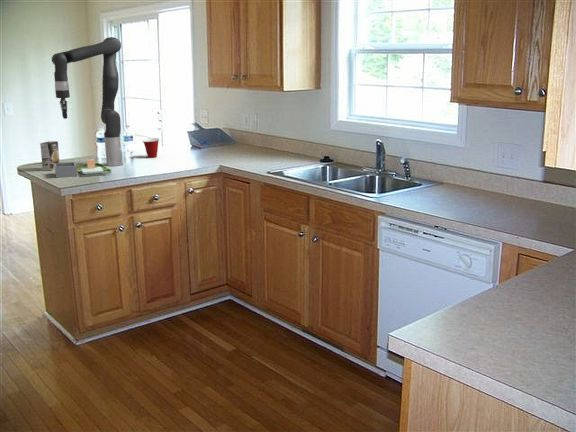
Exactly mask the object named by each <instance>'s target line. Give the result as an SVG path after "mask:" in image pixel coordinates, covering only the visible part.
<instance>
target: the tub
mask: <svg viewBox="0 0 576 432" xmlns="http://www.w3.org/2000/svg"><path fill="white" fill-rule="evenodd" d="M54 164H55V170H54V172H55V177H56V178H57V179H59V178H60V179H61V178H70V177H73V178H75V177H78V171H77V170H78V169H77V164H76V162H75V161H71V162H60V163H54Z"/></svg>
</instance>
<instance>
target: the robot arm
mask: <svg viewBox="0 0 576 432" xmlns="http://www.w3.org/2000/svg"><path fill="white" fill-rule="evenodd" d="M121 43H122V42H121V41H120V40H119V39H118V38H117V37H112V36H111V37H110V36H109V37H105V38H104V39H103V41H101V42H98V43H96V44H91V45H85V46H80V47H76V48H73V49H70V50H65V51H62V52H56V53H54V54H52V56H51V63H52V64H53V65H54V72H53V76H54V90H55V98H56V99H60V100H59V105H60V109H61V115H62V118H63V119H64V120H65V119H68V101H67V100H66V99H69V98H70V97H71V95H70V86H69V81H68V64H70V63H71V64H72V63H76V62H81V61H84V60H86V59H87V60H88V59H92V58H93V57H96V56H101V55H102V56H103V65H102V84H101V85H102V101H101V102H102V104H101V112H100V119H101V122H102V123H103V124H104V125H105V131H104V133H103V139H104V151H105V158H106V159H105V163H106V165H107V166H110V167H116V166H123V153H122V152H123V151H122V145H121V144H122V143H121V131H122V128H121V126H122V125H121V116H120V113H119V112H118V111H116V110H115V101H116V100H115V99H116V96H117V94H118V90H119V81H120V79H119V72H118V71H119V70H118V67H117V53H118V52H120V51H121V49H122V44H121Z"/></svg>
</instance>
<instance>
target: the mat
mask: <svg viewBox="0 0 576 432" xmlns="http://www.w3.org/2000/svg"><path fill="white" fill-rule="evenodd" d="M79 174H80V177H81V178H86V177H98V176H106V172H105V170H103V172H101V174H89V175H85V173H84V174H83V173H82V170H79Z"/></svg>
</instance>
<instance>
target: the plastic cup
mask: <svg viewBox="0 0 576 432" xmlns="http://www.w3.org/2000/svg"><path fill="white" fill-rule="evenodd" d="M159 140H160V138H158V137H157V138H156V137H155V138H154V137H153V138H146V139H143V140H142V143H143V144H144V148H145V152H146V155H147V158H148V159H156V158H157V157H158V150H159V149H158V148H159Z"/></svg>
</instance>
